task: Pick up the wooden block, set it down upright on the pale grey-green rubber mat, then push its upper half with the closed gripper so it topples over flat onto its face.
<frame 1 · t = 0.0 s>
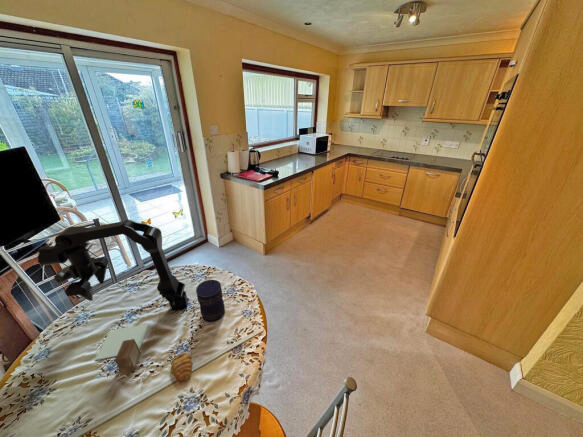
hand: (96, 291, 93), 15 cm above the table, fingers open, 9 cm apart
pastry: (183, 369, 81), on the table
mat: (123, 341, 90), on the table
storage jar: (213, 313, 102), on the table
wooden block: (132, 363, 82), on the table
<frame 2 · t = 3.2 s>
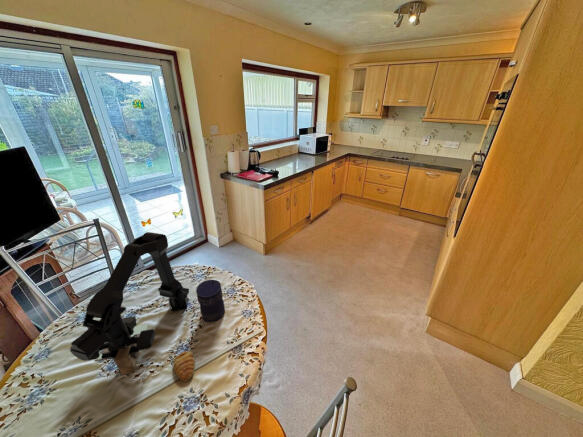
hand: (129, 358, 81), 3 cm above the table, fingers closed on wooden block, 4 cm apart
wooden block: (131, 363, 82), on the table, touching gripper
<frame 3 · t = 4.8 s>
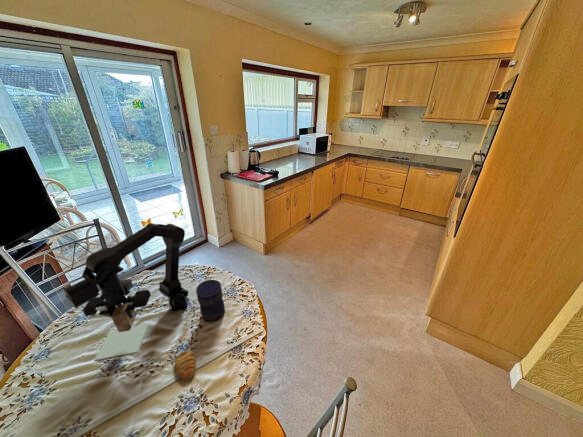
hand: (126, 318, 85), 12 cm above the table, fingers closed on wooden block, 4 cm apart
wooden block: (128, 323, 86), point 9 cm above the table, touching gripper
when the fingers open (3 cm above the table, at t = 6.6 s): wooden block stays where it is, resting on mat.
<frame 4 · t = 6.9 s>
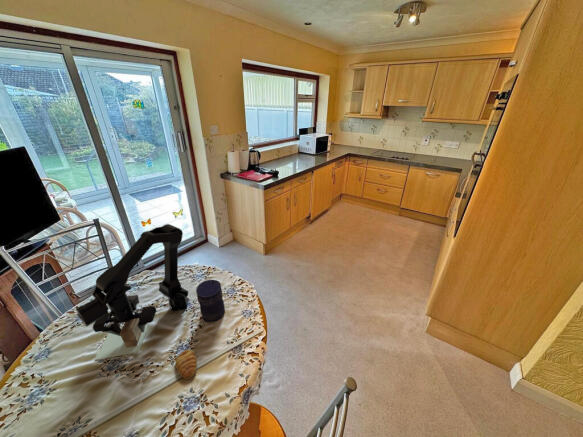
hand: (132, 333, 89), 3 cm above the table, fingers open, 7 cm apart
wooden block: (135, 338, 90), resting on mat
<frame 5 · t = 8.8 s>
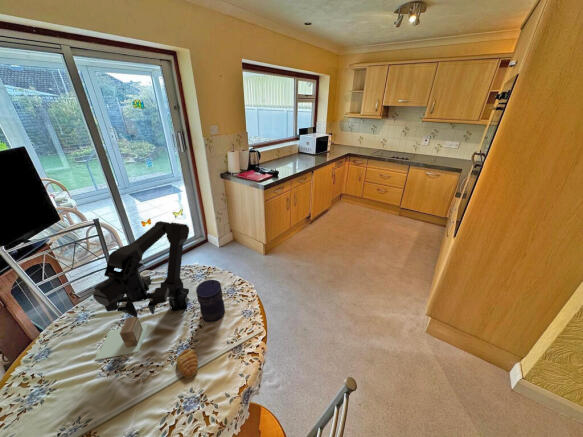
hand: (145, 314, 86), 12 cm above the table, fingers open, 5 cm apart
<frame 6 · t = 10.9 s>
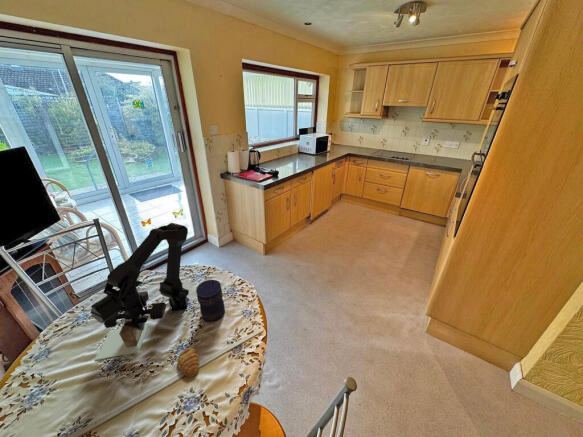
hand: (142, 329, 89), 5 cm above the table, fingers closed
wooden block: (135, 338, 90), resting on mat, touching gripper
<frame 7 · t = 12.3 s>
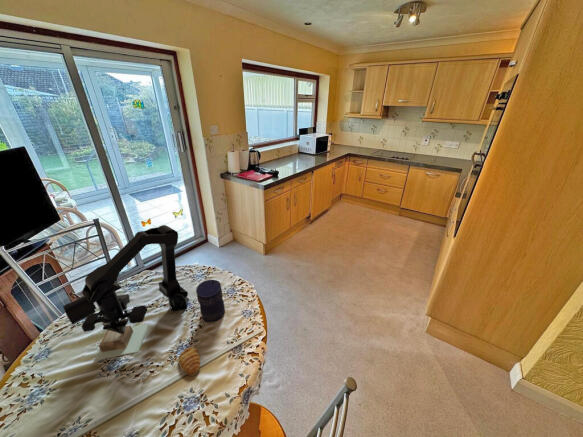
hand: (123, 332, 88), 5 cm above the table, fingers closed
wooden block: (128, 336, 89), point 2 cm above the table, tilted 90°, touching mat
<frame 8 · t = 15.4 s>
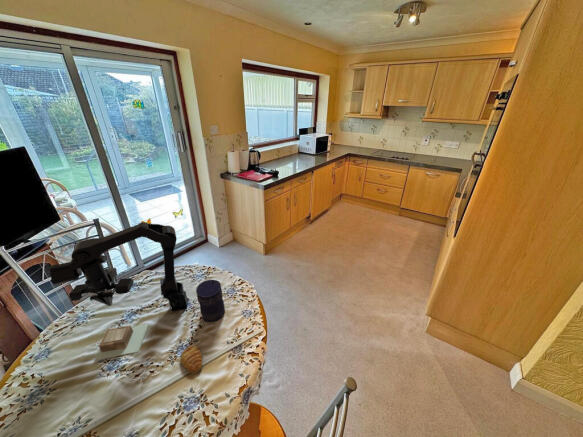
hand: (110, 304, 90), 12 cm above the table, fingers closed
at the end: wooden block tilted 90°; wooden block inside the target area on the mat (2.7 cm from its centre), point 2.1 cm above the mat's base; the gripper is holding nothing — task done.
